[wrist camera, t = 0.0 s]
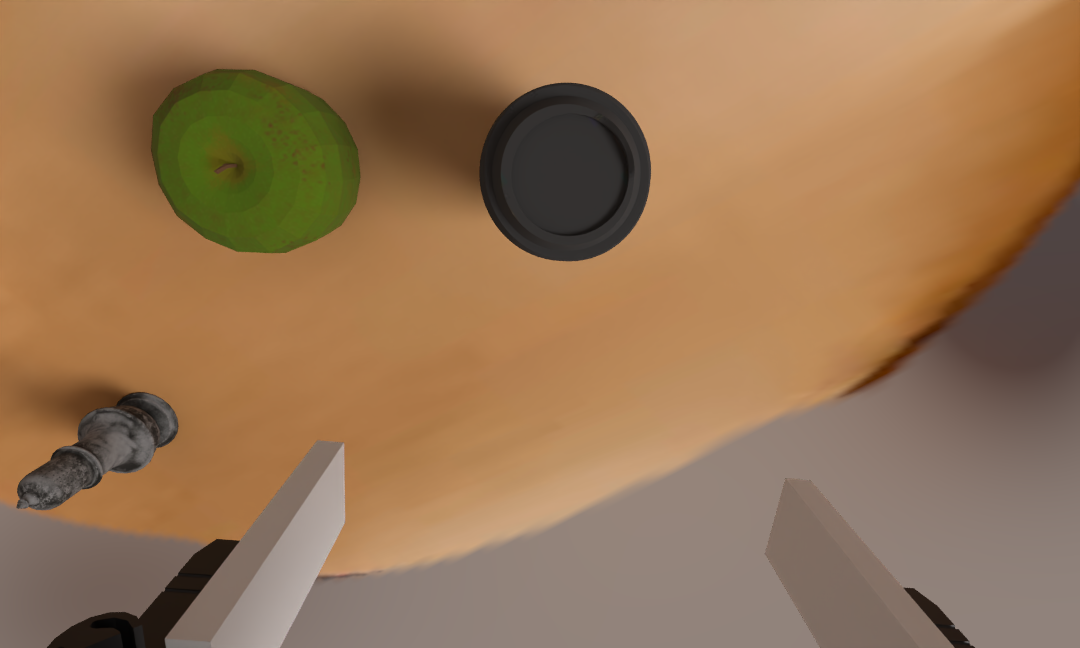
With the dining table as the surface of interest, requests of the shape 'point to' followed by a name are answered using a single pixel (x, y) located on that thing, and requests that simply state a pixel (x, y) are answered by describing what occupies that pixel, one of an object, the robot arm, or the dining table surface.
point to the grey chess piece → (101, 450)
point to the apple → (254, 161)
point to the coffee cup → (565, 172)
